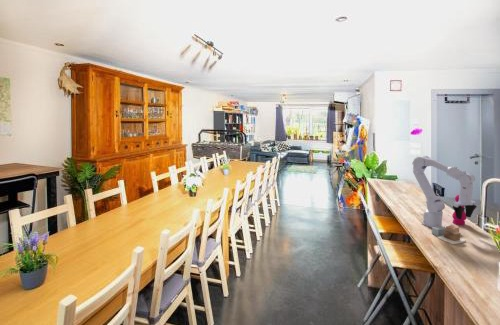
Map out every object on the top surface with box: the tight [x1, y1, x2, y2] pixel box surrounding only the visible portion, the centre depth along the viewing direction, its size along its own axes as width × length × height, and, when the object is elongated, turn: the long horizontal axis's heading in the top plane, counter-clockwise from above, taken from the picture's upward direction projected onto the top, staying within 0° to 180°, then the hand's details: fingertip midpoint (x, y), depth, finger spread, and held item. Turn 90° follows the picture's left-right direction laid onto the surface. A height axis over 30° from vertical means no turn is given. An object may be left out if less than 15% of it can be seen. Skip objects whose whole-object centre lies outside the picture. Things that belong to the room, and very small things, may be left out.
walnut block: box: [444, 229, 461, 241], centre depth 156 cm, size 6×4×4 cm, turn 19°
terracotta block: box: [445, 224, 460, 233], centre depth 165 cm, size 6×4×4 cm, turn 117°
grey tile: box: [437, 235, 466, 245], centre depth 156 cm, size 9×9×1 cm
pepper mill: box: [451, 194, 467, 226], centre depth 178 cm, size 7×7×20 cm
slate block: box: [431, 225, 447, 237], centre depth 164 cm, size 6×4×4 cm, turn 104°
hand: (463, 217), depth 163 cm, fingers open, 7 cm apart
